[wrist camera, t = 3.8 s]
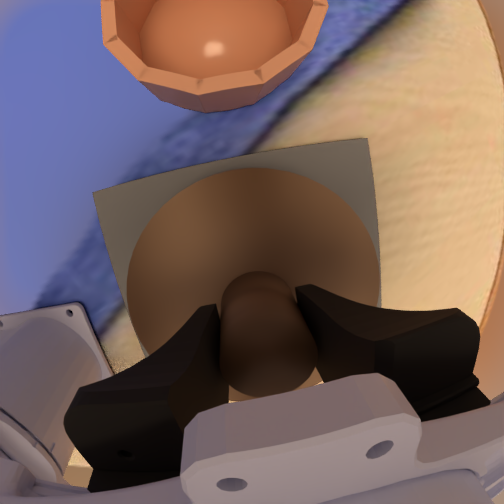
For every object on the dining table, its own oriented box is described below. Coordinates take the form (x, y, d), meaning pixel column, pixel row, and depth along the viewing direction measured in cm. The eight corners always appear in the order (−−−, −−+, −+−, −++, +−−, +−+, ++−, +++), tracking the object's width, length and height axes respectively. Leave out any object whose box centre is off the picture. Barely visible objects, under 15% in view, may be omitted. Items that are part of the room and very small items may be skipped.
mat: (155, 373, 19) (154, 377, 18) (96, 191, 15) (92, 192, 15) (377, 327, 19) (381, 330, 19) (363, 138, 16) (367, 138, 15)
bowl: (145, 130, 15) (112, 118, 10) (127, -5, 12) (100, -47, 7) (313, 98, 15) (347, 76, 10) (279, -32, 12) (296, -79, 8)
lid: (174, 401, 15) (162, 473, 11) (104, 200, 12) (43, 224, 7) (371, 361, 16) (411, 422, 11) (358, 150, 12) (424, 148, 8)
